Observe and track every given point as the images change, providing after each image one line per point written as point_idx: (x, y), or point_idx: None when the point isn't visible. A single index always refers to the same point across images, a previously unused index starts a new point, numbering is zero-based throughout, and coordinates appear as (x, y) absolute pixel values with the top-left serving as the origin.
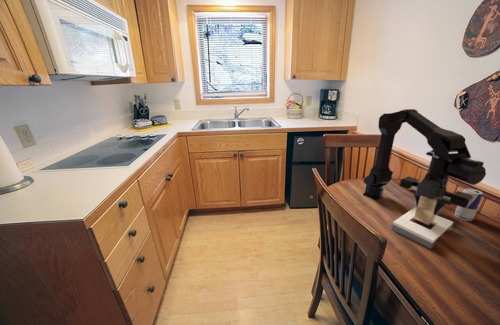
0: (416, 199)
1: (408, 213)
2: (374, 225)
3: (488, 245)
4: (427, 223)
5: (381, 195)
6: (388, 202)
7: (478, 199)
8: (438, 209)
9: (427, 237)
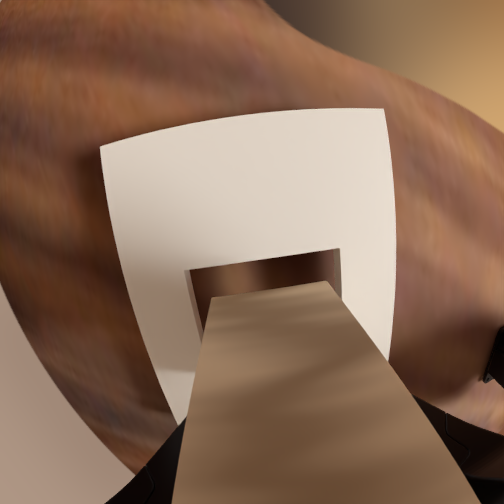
0: (450, 423)
1: (381, 334)
2: (415, 84)
3: (88, 412)
4: (221, 301)
5: (493, 370)
6: (460, 368)
7: None
8: (164, 456)
9: (136, 142)
